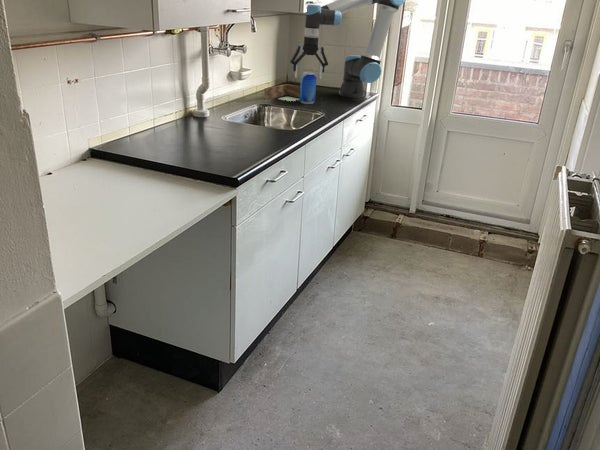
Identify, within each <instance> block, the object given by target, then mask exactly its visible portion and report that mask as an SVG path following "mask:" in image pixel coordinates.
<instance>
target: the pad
mask: <svg viewBox="0 0 600 450" xmlns="http://www.w3.org/2000/svg"><path fill="white" fill-rule="evenodd" d="M277 99H278V100H281V101H285V100H286V102H289V101H290V103H292V102H291V101H293V102H296V100H297V101H300V98H297V97H293V96H288V95H286V96H282V97H277Z"/></svg>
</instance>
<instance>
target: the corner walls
mask: <svg viewBox="0 0 600 450" xmlns="http://www.w3.org/2000/svg"><path fill="white" fill-rule="evenodd" d="M284 95H285V96H288V95H289V96H288V97H293V96H294V97H293V98H297V97H298V99H300V86H299V85H293V84H289V83H285V84H280V85H274V86H269V87H265V88H264V92H263V96H264V97H263V98H264V100H267V101H268V100H270V99H271V100H272V99H274V98H282V97H285V96H284Z"/></svg>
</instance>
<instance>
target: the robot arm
mask: <svg viewBox="0 0 600 450" xmlns="http://www.w3.org/2000/svg"><path fill="white" fill-rule="evenodd" d="M405 2H406V0H335V1H333V2H330V3H328V4H327V3H326V4H325V5H322V6H321V5H319V4H308V5H306V9H307V12H306V11H305V21H304V22H305V25H304V37H303V45H299V44H298V45H297V48H296V50H295V53H294V54H293V55H292V58H290V59H291V60H290V61H289V62H290V64H292V66H293V67H292V68H293V72H294V78H296V79H297V78H298V63H299V62H300V61H302V59H303V58H304V57H305V56H315V57H316V59H317V60H318V61H319V63H320V64H321V65H320V67H319V76H318V77H319V79H320V80H322V78H323V73H325V67H326V66H329V62H328V59H327V57H326V54H325V52H324V51H325V50H324V49H325V48H324V47H323V46H320V47H319V36H320V35H319V34H320V26H339V25H341V22H342V18H343V14H346V13H348V12H351V11H353V10H355V9H356V10H357V9H358V8H361V7H363V6H366V5H368V6H371V5H374V4H377V6H378V11H377V14H376V18H375V21H374V24H373V27H372V29H371V33H370V36H369V39H368V42H367V45H366V48H365V52H363V53H362V54H361V55H346V56H345V58H344V68H343V77H342V79H343V80H342V83H341V85H340V88H339V91H338V92H339V93H338V95H339V96H341V97H344V98H350V99H351V98H352V99H360V98H364V97H365V88H364V84H363V83H366V84H373V83H374V82H376V81H378V80H379V79H380V78H381V77H380V76H381V75H382V67H381V62H382V61H381V58H380V57H381V54H382V51H383V47H384V44H385V43H386V39H387V36H388V32H389V31H390V30H389V29H390V27H391V24H392V21H393V18H394V15H395V13H397V12H398V11H399V8H400V6H402V5H403V4H404V3H405ZM301 50H303V52H301V54H300V55H299V53H300V51H301ZM318 51H319V52H320V54H321V57H320V56H319V55H318ZM298 55H299V56H298ZM297 56H298V57H297ZM322 59H323V60H322Z"/></svg>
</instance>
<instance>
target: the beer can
mask: <svg viewBox="0 0 600 450" xmlns="http://www.w3.org/2000/svg"><path fill="white" fill-rule="evenodd" d="M299 87H300V98H299V99H300V100H299V102H300V103H301V104H304V105H312V104H314V103H315V101H316V92H317V91H316V90H317V76H316V73H315V72H313V71H304V72H303V73H302V74H301V77H300V86H299Z"/></svg>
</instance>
